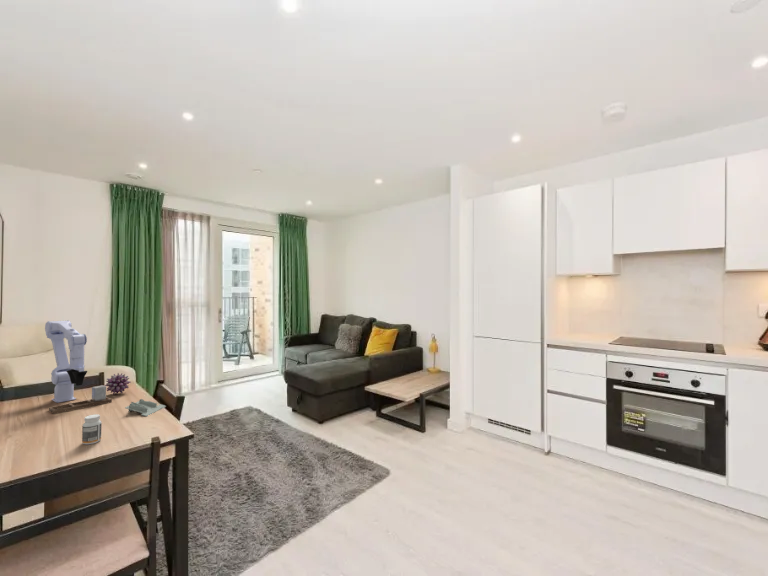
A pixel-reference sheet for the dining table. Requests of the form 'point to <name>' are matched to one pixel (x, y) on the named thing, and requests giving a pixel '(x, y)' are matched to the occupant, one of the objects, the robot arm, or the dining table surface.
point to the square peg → (98, 393)
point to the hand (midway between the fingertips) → (76, 384)
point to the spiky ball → (117, 383)
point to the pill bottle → (91, 429)
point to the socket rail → (73, 406)
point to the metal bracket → (144, 407)
